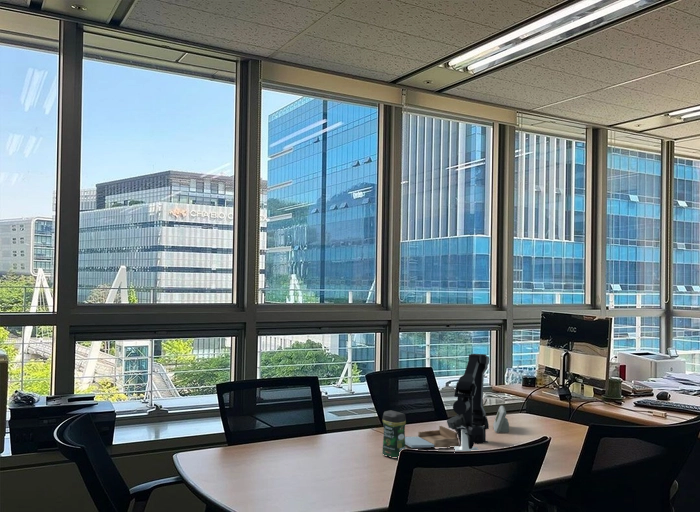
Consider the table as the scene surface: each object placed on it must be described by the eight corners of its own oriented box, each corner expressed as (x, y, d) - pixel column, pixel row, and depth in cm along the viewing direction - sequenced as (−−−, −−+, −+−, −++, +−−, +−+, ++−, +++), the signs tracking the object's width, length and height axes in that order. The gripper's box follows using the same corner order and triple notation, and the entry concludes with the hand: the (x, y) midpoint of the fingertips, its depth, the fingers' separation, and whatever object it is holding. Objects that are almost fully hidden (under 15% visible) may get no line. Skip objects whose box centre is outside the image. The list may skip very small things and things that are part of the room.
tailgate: (418, 436, 280) (396, 436, 276) (434, 444, 266) (411, 445, 262) (418, 439, 280) (396, 439, 276) (434, 447, 266) (411, 448, 262)
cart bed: (440, 438, 285) (440, 425, 285) (458, 447, 270) (458, 433, 270) (418, 440, 281) (418, 427, 281) (435, 449, 266) (435, 435, 266)
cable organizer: (454, 450, 264) (453, 427, 265) (477, 451, 263) (477, 428, 264) (454, 454, 259) (454, 430, 259) (478, 455, 258) (478, 430, 258)
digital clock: (494, 425, 311) (493, 404, 312) (512, 427, 308) (512, 405, 308) (488, 432, 296) (488, 410, 297) (507, 434, 293) (507, 412, 294)
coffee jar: (379, 455, 257) (379, 410, 257) (392, 452, 262) (393, 408, 262) (395, 460, 249) (395, 414, 250) (409, 457, 254) (409, 411, 255)
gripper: (438, 406, 268) (438, 443, 267) (461, 415, 250) (461, 454, 250) (460, 405, 272) (460, 440, 271) (484, 413, 254) (484, 451, 254)
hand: (466, 446), depth 261 cm, fingers closed on cable organizer, 6 cm apart
